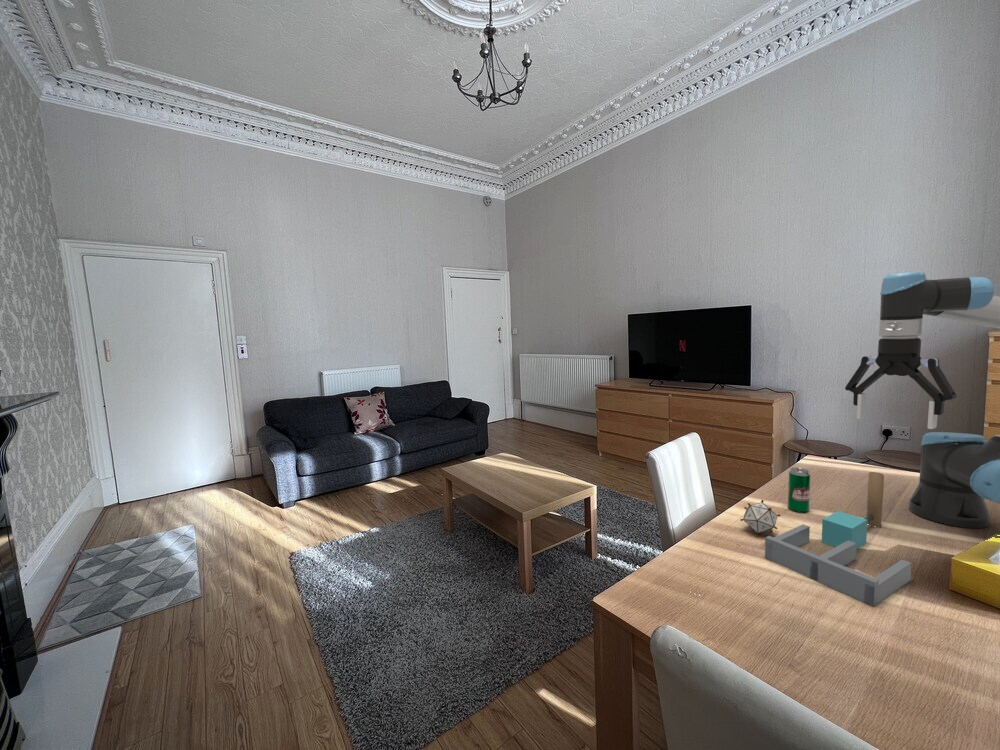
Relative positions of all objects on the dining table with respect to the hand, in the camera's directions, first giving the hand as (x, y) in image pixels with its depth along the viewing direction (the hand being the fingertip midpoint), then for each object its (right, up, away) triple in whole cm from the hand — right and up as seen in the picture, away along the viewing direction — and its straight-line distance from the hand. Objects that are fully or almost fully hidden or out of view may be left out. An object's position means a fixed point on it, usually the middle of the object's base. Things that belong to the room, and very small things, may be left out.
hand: (894, 423), depth 104 cm
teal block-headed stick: (-7, -29, +3) cm, 30 cm away
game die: (-30, -30, +6) cm, 42 cm away
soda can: (-11, -28, +18) cm, 35 cm away
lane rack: (-24, -31, -11) cm, 41 cm away
